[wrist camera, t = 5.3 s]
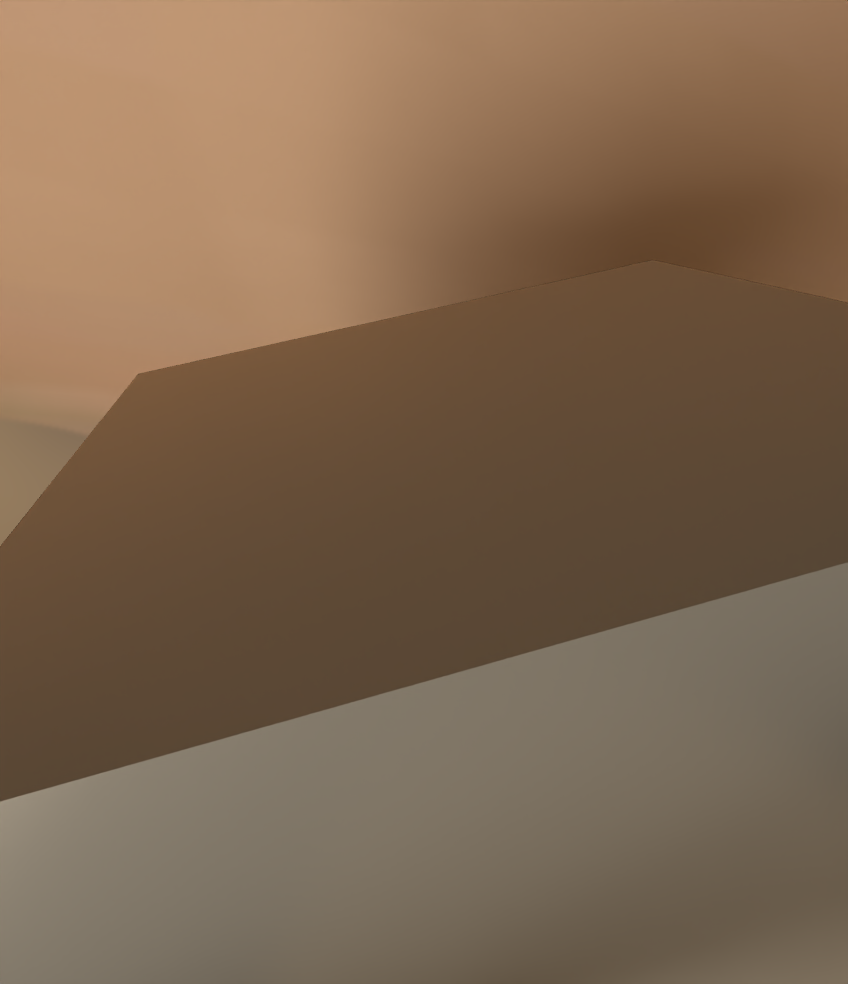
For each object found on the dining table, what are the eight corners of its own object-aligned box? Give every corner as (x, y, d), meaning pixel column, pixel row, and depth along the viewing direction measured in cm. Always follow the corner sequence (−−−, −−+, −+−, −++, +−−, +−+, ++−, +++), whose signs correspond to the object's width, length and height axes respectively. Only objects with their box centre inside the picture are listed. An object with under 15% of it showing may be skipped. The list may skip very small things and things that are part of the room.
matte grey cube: (640, 630, 17) (934, 1009, 9) (294, 728, 16) (295, 1243, 8) (653, 259, 11) (1366, 416, 4) (137, 374, 10) (-263, 877, 3)
